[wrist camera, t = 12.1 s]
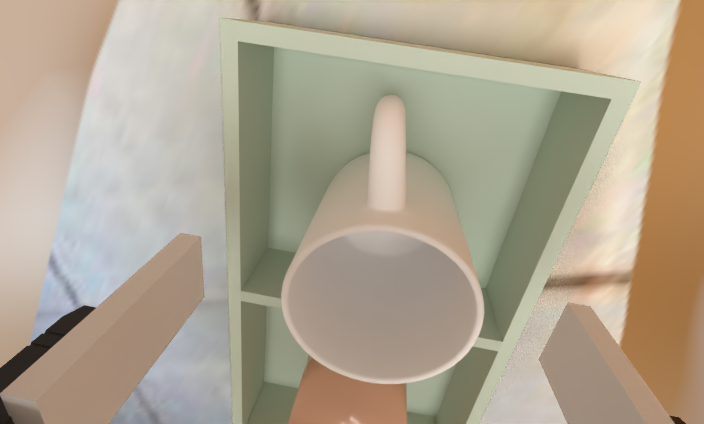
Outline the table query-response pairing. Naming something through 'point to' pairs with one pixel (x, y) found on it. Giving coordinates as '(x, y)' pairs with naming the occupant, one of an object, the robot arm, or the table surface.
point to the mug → (385, 267)
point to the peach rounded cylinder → (346, 399)
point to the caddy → (421, 140)
